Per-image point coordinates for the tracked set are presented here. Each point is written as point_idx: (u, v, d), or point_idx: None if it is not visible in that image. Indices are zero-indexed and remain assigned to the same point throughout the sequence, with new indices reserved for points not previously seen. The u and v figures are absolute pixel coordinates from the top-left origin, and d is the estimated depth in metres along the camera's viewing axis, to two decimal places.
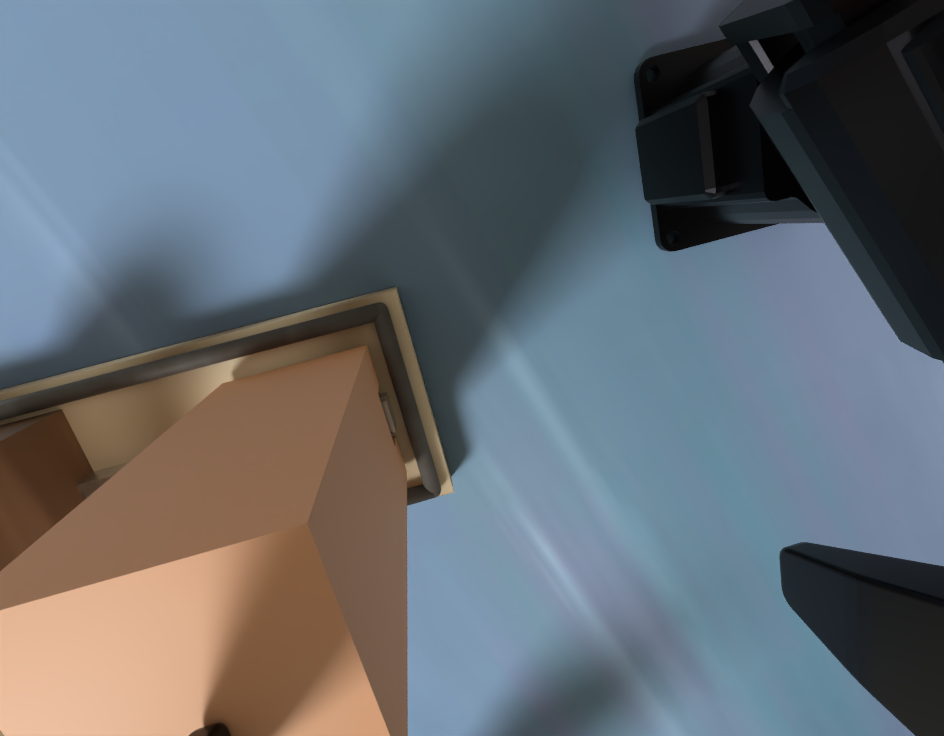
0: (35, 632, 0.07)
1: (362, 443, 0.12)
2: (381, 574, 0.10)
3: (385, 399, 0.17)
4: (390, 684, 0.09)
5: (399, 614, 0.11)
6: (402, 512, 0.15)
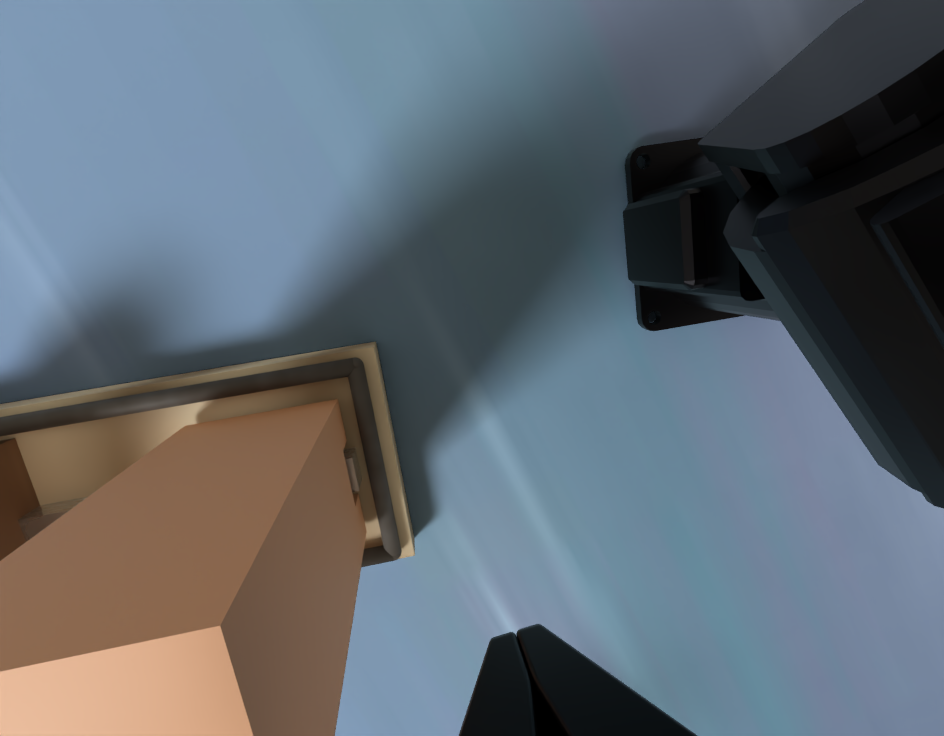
0: None
1: (312, 512, 0.12)
2: (312, 662, 0.10)
3: (351, 456, 0.17)
4: None
5: (329, 704, 0.10)
6: (353, 580, 0.15)
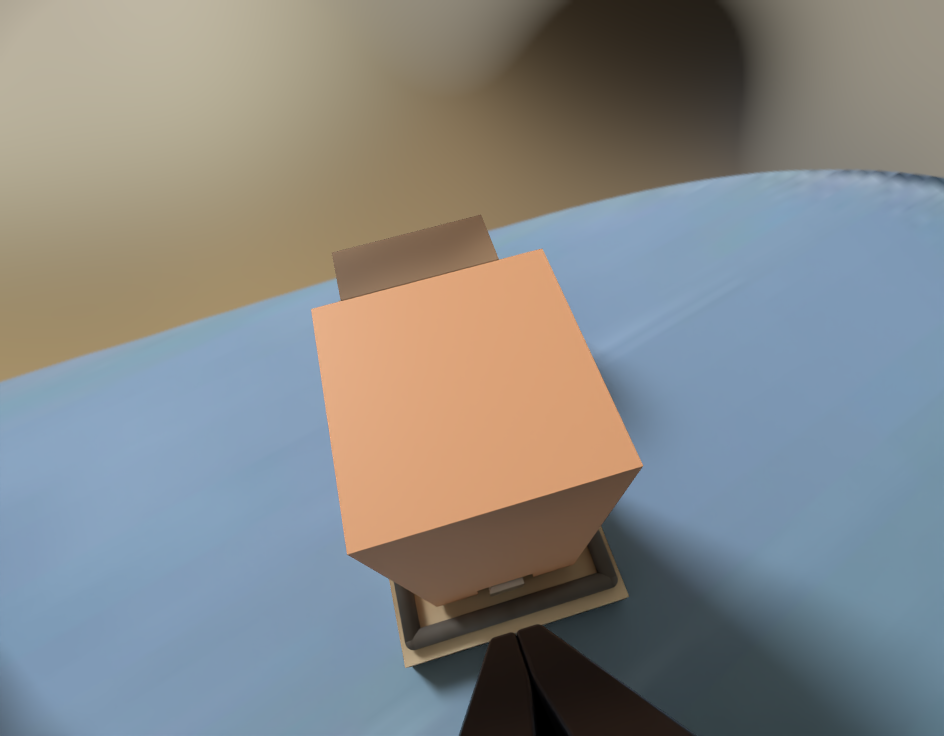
0: (538, 294, 0.10)
1: (556, 542, 0.13)
2: (476, 549, 0.11)
3: (523, 583, 0.17)
4: (422, 544, 0.09)
5: (416, 569, 0.11)
6: (437, 592, 0.15)
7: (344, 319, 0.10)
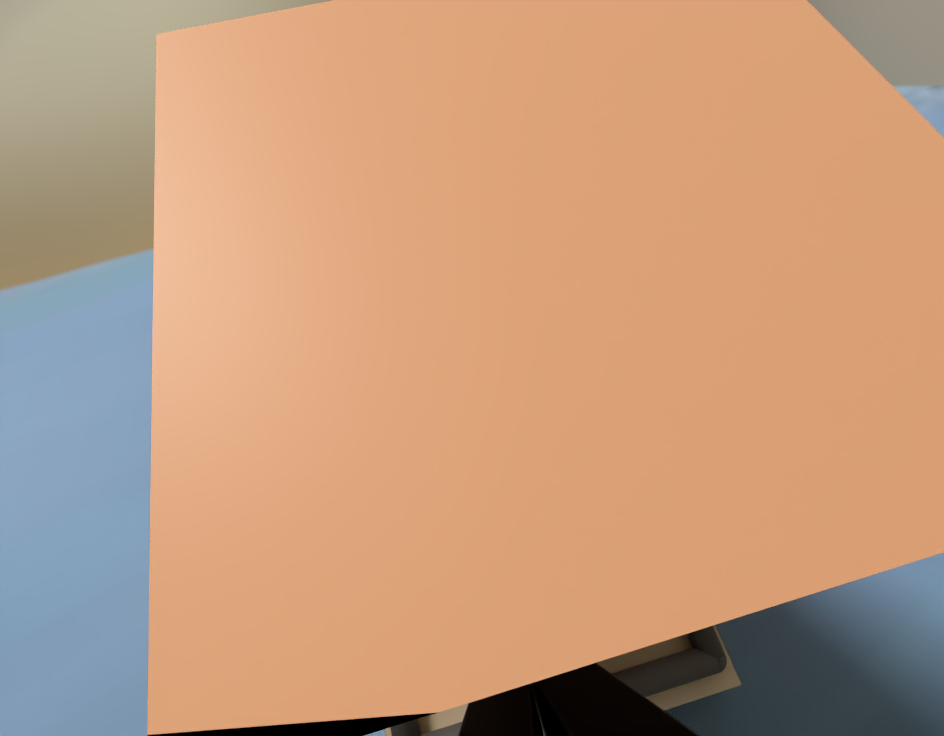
0: (745, 4, 0.04)
1: None
2: None
3: None
4: None
5: None
6: None
7: (237, 54, 0.04)
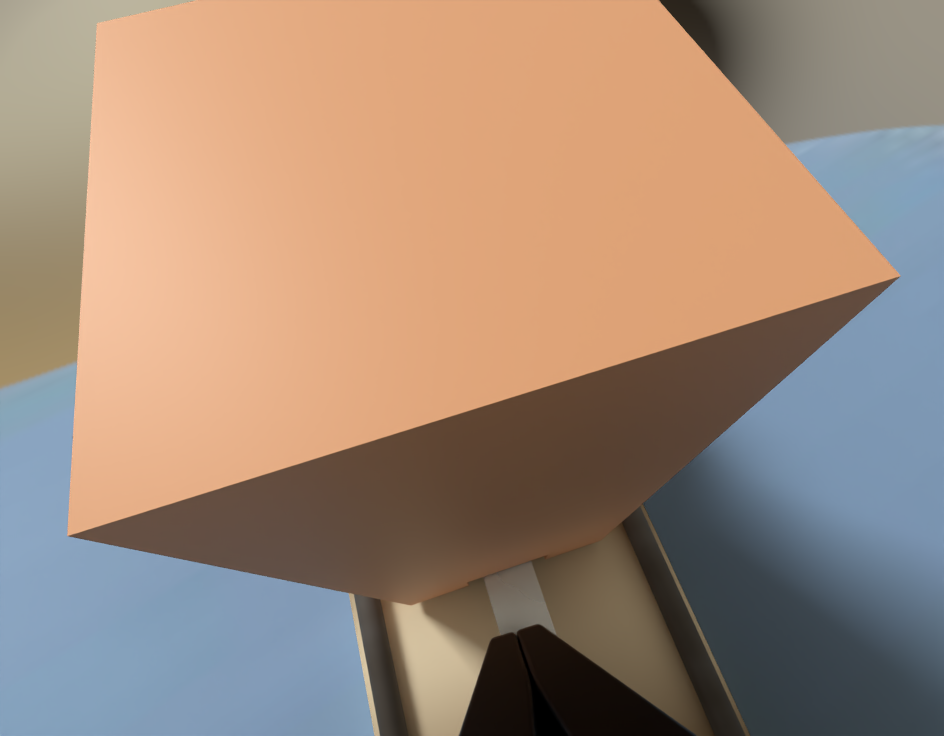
0: None
1: (597, 506, 0.08)
2: (459, 517, 0.05)
3: None
4: (321, 505, 0.04)
5: (343, 561, 0.05)
6: (404, 590, 0.09)
7: (162, 35, 0.05)
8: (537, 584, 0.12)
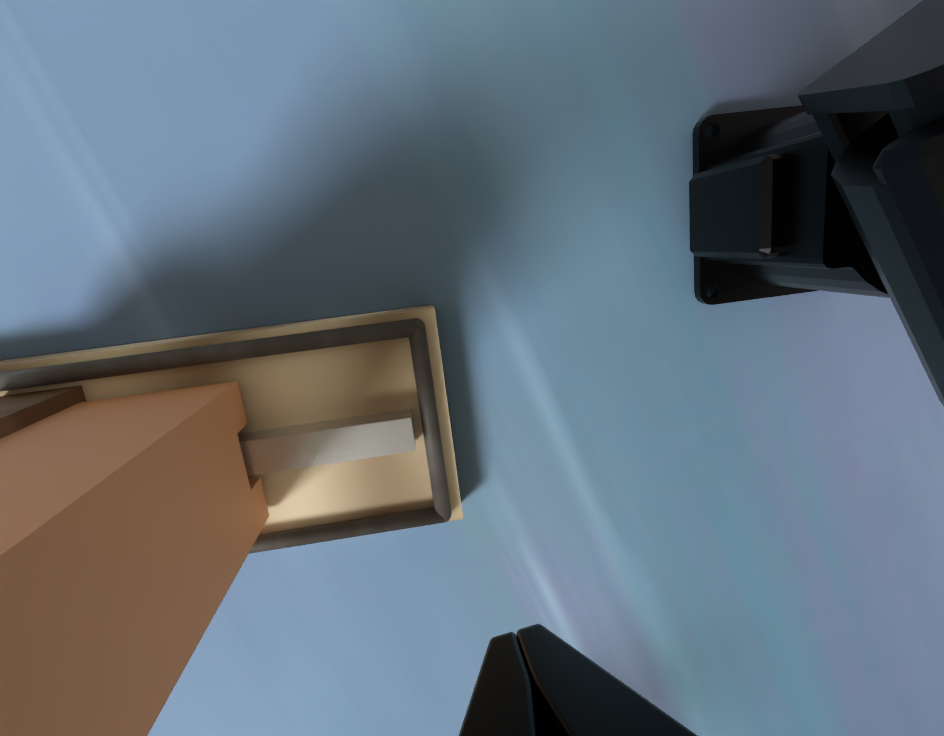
0: None
1: (158, 495, 0.11)
2: (123, 646, 0.10)
3: (409, 416, 0.17)
4: None
5: (151, 689, 0.10)
6: (230, 564, 0.14)
7: None
8: (259, 440, 0.17)
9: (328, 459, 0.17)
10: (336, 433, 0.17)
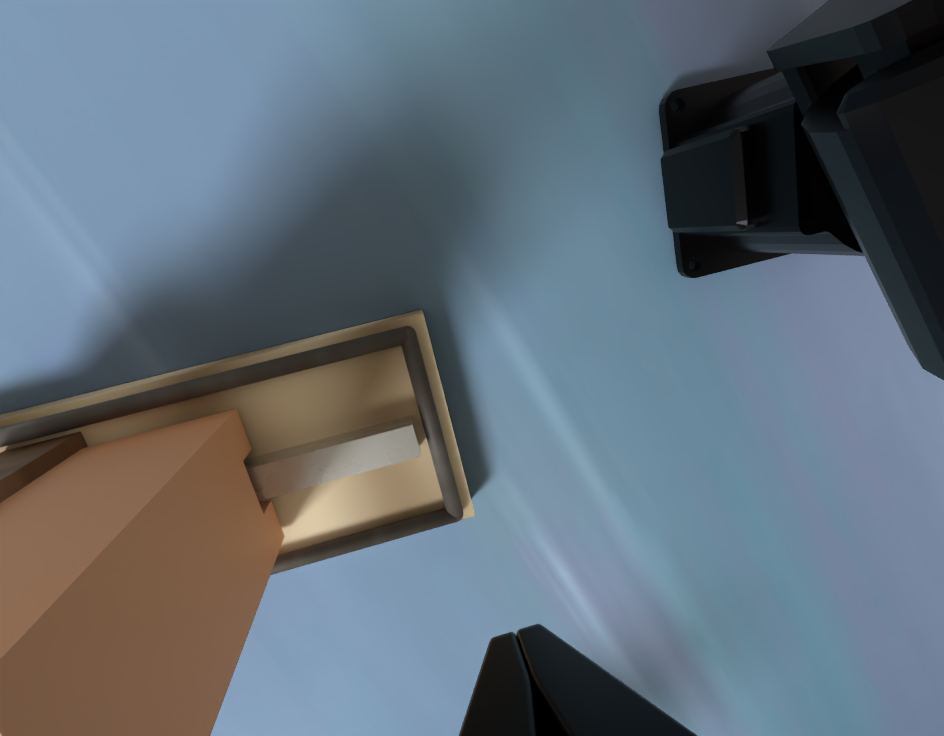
0: None
1: (175, 536, 0.12)
2: (162, 689, 0.10)
3: (411, 423, 0.17)
4: None
5: (194, 726, 0.10)
6: (253, 591, 0.15)
7: None
8: (265, 465, 0.17)
9: (336, 475, 0.17)
10: (340, 448, 0.17)
